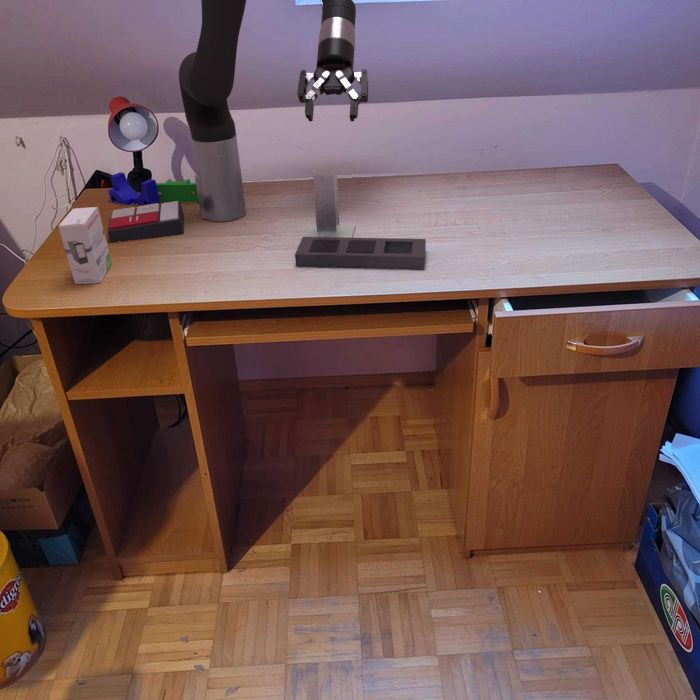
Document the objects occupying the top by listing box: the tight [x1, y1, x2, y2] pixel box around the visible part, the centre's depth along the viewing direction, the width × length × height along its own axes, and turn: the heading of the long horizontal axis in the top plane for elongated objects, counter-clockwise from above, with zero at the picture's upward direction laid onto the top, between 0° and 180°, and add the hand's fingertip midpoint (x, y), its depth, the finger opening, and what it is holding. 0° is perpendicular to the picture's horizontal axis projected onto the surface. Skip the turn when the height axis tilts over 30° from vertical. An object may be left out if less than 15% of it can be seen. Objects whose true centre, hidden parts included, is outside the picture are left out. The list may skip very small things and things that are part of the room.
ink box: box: [57, 206, 113, 285], centre depth 124 cm, size 9×5×12 cm, turn 2°
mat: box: [302, 224, 356, 238], centre depth 137 cm, size 10×10×1 cm
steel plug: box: [312, 168, 340, 237], centre depth 133 cm, size 4×4×13 cm
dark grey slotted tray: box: [294, 236, 427, 270], centre depth 127 cm, size 24×8×3 cm, turn 83°
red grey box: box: [106, 201, 185, 243], centre depth 144 cm, size 11×4×15 cm
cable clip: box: [107, 171, 161, 206], centre depth 156 cm, size 12×4×6 cm, turn 57°
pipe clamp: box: [156, 178, 199, 204], centre depth 157 cm, size 11×4×5 cm, turn 84°
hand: (330, 119), depth 135 cm, fingers open, 8 cm apart
